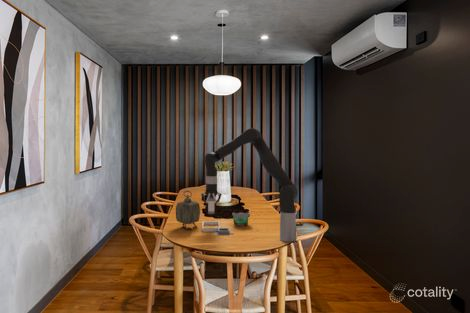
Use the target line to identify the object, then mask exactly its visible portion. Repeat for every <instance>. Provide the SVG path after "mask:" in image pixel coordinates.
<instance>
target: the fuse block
mask: <svg viewBox="0 0 470 313" xmlns="http://www.w3.org/2000/svg"><path fill="white" fill-rule="evenodd" d="M217 228H218V227H217ZM213 235H214V236H216V235H217V236H218V235H220V236H221V235H223V236H224V235H228V236H229V235H234V231H233V230H230V228H229V227H220V228H218V231H213Z"/></svg>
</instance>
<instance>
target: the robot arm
mask: <svg viewBox="0 0 470 313" xmlns="http://www.w3.org/2000/svg"><path fill="white" fill-rule="evenodd" d="M246 144H252V146H253V148H255V151H256V152H257V154H258V157H259V160H260V162H261V164H262V167H263V168H264V169H265V171H266V172H267V173H268V174H269V175H270V176H271V177H272V178H273V179H274V180H275V181H276V182H277V183H278V185H279V186H280V190H279V194H278V195H279V196H278V203H279V204H278V205H279V210H280V216H279V219H280V221H279V240H280V241H281V242H286V243H293V242H297V223H296V221H297V220H296V219H297V208H296V206H295V199H296V198H298V195H299V190H298V188H297V186H296V185H295V184H294V182H293V181H292V180H291V179H290V178H289V176H288V175H287V173H286V171H285V170H284V168H283V167H282V165H281V163H280V162H279V160H278V159H277V157H276V156H275V154H274V153H273V151H272V150H271V148H269V146H268V145H267V143H266V141H265V139H264V137H263V135H262V133H261V132H260V130H258V129H257V128H254V127H249V128H247V129H245V131H243V132H242V133H240V134H239V135H238V136H237V137H235V138H234V139H233V140H230V141H228V142H227V143H225V144H223V145H221V146H220V147H219V148H217V150H215V151H213V152H208V153H206V155H205V157H204V163H205V169H206V171H205V172H206V173H205V174H206V175H205V191H204V192H202V193H201V194H200V195H201V198H202V201H203V203H206V204H205V208H206V209H207V210H208V199H209V198H214V199H215V201H214V210H215V209H216V208H217V203H220V200H221V197H222V192H218V169H217V167H216V163H218V162H219V161H220V160H222V159H223V158H226V157H227V156H230V155H231V154H233V153H235V151H236V150H238V149H239V148H240V147H242V146H244V145H246ZM205 195H206V197H207V198H206V197H205ZM216 197H217V198H216Z"/></svg>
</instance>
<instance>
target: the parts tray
mask: <svg viewBox="0 0 470 313" xmlns="http://www.w3.org/2000/svg"><path fill="white" fill-rule="evenodd" d="M204 226H218V227H204ZM218 228H221V224H220V221H215V220H214V221H202V224H201V232H203V233H204V232H206V233H207V232H214V231H218Z"/></svg>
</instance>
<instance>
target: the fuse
mask: <svg viewBox="0 0 470 313" xmlns="http://www.w3.org/2000/svg"><path fill="white" fill-rule="evenodd" d="M214 201H215V199H214V198H209V199H208V209H207V210H208V211H207V214H208V215H215V209H214V203H215V202H214Z"/></svg>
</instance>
